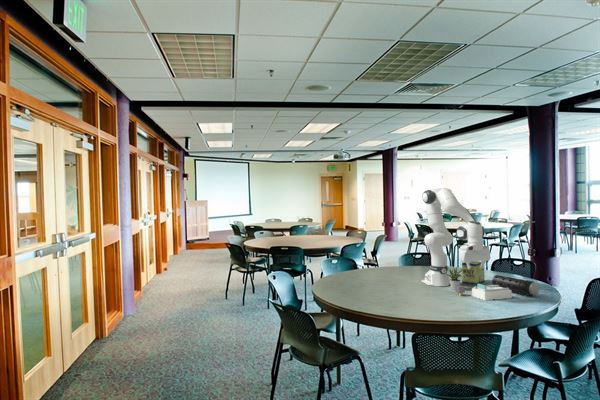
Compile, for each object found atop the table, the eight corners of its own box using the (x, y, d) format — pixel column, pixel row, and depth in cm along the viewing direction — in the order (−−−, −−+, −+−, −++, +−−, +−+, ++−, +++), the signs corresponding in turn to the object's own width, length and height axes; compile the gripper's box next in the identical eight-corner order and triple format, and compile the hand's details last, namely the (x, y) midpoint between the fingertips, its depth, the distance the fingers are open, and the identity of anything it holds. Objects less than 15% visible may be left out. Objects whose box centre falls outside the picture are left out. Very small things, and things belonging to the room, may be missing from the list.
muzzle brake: (501, 288, 274) (500, 273, 274) (540, 297, 249) (539, 281, 249) (491, 289, 270) (491, 275, 270) (530, 298, 244) (530, 282, 244)
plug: (455, 294, 257) (455, 285, 257) (460, 294, 258) (460, 285, 258) (459, 296, 253) (459, 286, 253) (464, 295, 254) (464, 286, 254)
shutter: (477, 288, 251) (477, 283, 251) (487, 287, 253) (487, 282, 253) (485, 291, 245) (485, 285, 245) (495, 290, 246) (495, 285, 246)
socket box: (472, 295, 253) (471, 286, 253) (497, 293, 258) (497, 284, 258) (485, 300, 242) (484, 290, 242) (511, 298, 247) (511, 288, 247)
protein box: (461, 283, 292) (461, 262, 292) (471, 280, 302) (471, 260, 302) (475, 285, 284) (475, 264, 284) (484, 282, 294) (484, 261, 294)
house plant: (469, 292, 264) (468, 268, 264) (447, 291, 267) (447, 267, 267) (464, 287, 278) (464, 264, 278) (444, 286, 281) (443, 264, 281)
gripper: (485, 245, 253) (485, 266, 253) (458, 246, 248) (458, 268, 248) (492, 246, 247) (492, 267, 247) (465, 247, 242) (465, 269, 241)
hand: (475, 268), depth 247 cm, fingers open, 8 cm apart
